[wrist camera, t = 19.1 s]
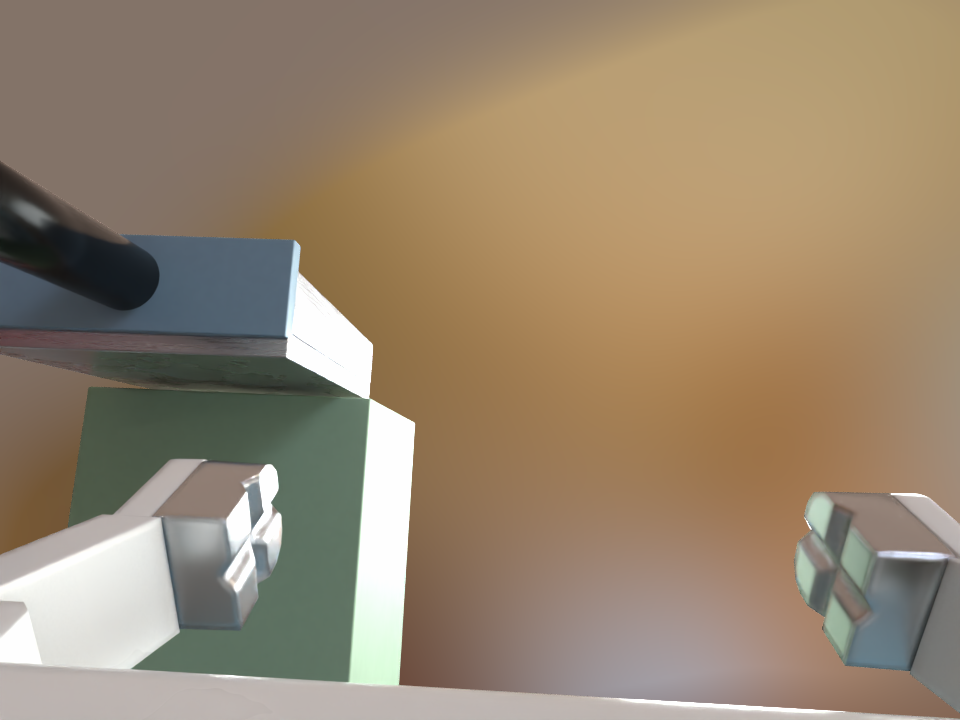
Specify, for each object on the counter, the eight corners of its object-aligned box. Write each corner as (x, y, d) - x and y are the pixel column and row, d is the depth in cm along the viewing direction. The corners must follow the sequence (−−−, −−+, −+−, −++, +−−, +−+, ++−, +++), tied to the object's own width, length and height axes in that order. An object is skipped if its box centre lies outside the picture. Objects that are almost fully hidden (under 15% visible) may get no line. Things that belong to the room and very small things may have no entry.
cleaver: (-19, 199, 8) (29, -59, 8) (-776, 176, 8) (-677, -69, 9) (368, 400, 31) (374, 328, 31) (166, 392, 31) (175, 320, 32)
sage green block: (315, 1147, 22) (370, 398, 26) (-22, 1118, 22) (87, 386, 27) (386, 885, 36) (415, 422, 40) (177, 871, 36) (228, 414, 41)
